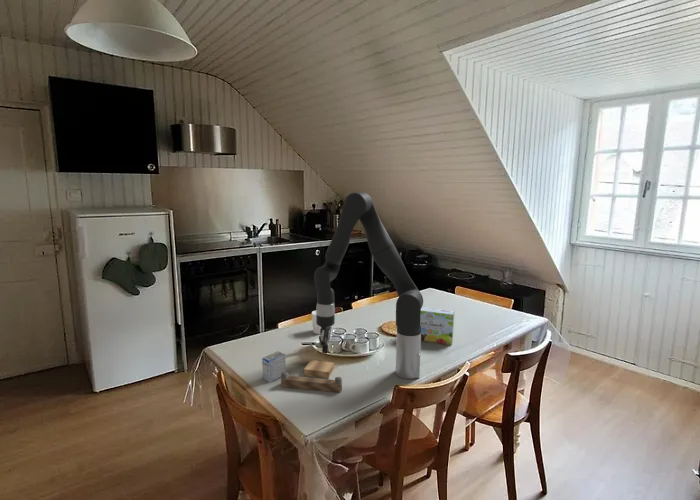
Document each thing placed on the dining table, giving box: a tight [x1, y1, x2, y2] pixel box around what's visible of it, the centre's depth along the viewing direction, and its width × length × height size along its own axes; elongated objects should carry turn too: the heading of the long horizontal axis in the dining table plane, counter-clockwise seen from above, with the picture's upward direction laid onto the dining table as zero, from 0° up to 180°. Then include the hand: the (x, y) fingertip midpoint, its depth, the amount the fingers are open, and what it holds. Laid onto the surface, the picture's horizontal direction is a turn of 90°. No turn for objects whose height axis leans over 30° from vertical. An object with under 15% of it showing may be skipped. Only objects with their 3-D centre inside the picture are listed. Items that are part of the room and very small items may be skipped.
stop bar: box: [280, 371, 343, 393], centre depth 147 cm, size 22×3×4 cm, turn 80°
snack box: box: [420, 306, 455, 346], centre depth 189 cm, size 21×6×15 cm, turn 70°
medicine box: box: [261, 351, 287, 383], centre depth 154 cm, size 8×4×9 cm, turn 141°
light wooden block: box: [303, 359, 336, 379], centre depth 158 cm, size 10×8×3 cm
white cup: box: [311, 310, 321, 335], centre depth 198 cm, size 8×8×10 cm
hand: (325, 352), depth 169 cm, fingers closed
